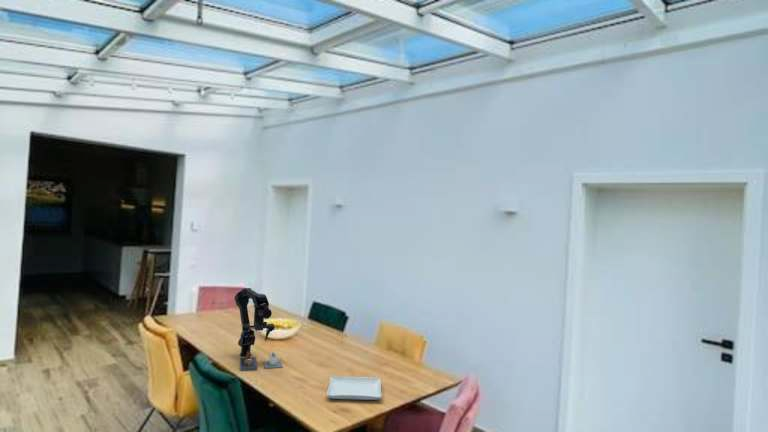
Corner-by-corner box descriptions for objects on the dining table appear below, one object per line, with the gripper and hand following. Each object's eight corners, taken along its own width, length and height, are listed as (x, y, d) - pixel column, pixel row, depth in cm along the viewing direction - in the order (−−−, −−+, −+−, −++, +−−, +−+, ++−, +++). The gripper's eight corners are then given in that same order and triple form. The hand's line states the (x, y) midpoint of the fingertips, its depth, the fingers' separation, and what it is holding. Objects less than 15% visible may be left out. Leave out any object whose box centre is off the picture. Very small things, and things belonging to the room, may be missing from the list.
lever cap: (269, 362, 275) (269, 352, 275) (275, 362, 276) (276, 352, 276) (269, 365, 269) (270, 355, 269) (276, 365, 270) (277, 355, 270)
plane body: (240, 362, 274) (240, 351, 275) (255, 361, 277) (256, 350, 277) (240, 370, 259) (241, 359, 259) (257, 369, 262) (257, 358, 262)
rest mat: (263, 361, 277) (263, 360, 277) (280, 361, 280) (280, 360, 280) (264, 368, 265) (265, 367, 265) (282, 367, 268) (282, 366, 268)
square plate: (380, 384, 251) (380, 377, 251) (381, 404, 223) (382, 396, 224) (330, 382, 250) (330, 375, 250) (325, 402, 223) (326, 394, 223)
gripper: (243, 318, 267) (241, 345, 267) (276, 318, 273) (274, 344, 273) (242, 314, 278) (241, 340, 278) (274, 314, 284) (273, 339, 283)
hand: (257, 341), depth 278 cm, fingers open, 9 cm apart
